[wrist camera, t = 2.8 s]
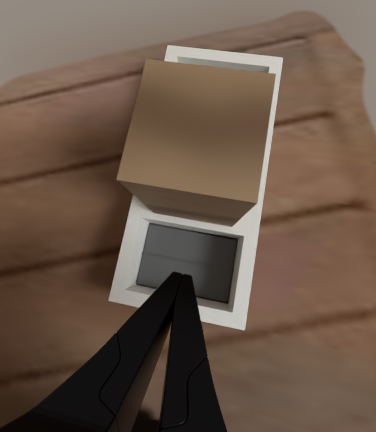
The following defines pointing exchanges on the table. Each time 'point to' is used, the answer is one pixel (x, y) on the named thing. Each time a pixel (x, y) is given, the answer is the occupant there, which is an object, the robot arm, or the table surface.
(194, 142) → the walnut block
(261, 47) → the table surface
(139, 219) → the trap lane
